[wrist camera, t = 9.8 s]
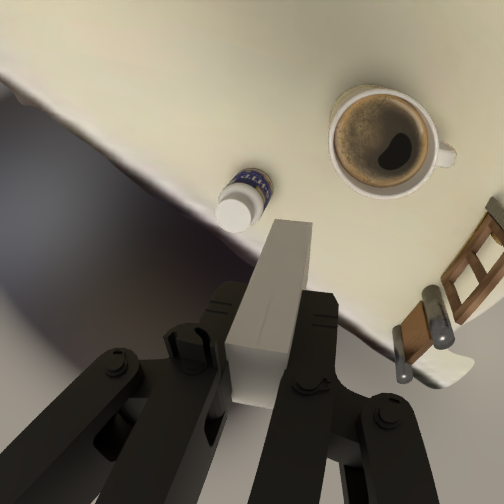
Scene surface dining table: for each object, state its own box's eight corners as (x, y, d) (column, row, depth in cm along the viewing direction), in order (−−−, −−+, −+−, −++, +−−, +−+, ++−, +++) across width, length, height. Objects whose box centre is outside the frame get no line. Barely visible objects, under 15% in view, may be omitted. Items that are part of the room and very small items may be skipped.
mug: (375, 63, 29) (393, 60, 20) (441, 142, 31) (477, 171, 22) (311, 121, 34) (303, 141, 25) (379, 193, 37) (392, 237, 28)
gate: (446, 283, 40) (461, 325, 33) (440, 280, 40) (455, 322, 33) (493, 217, 33) (521, 252, 26) (488, 213, 33) (515, 248, 26)
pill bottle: (281, 184, 40) (267, 214, 32) (258, 213, 42) (240, 247, 35) (246, 159, 39) (224, 183, 32) (225, 189, 42) (200, 219, 34)
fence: (481, 207, 34) (512, 246, 25) (495, 217, 34) (526, 257, 25) (388, 332, 48) (391, 381, 40) (402, 337, 48) (407, 385, 40)
